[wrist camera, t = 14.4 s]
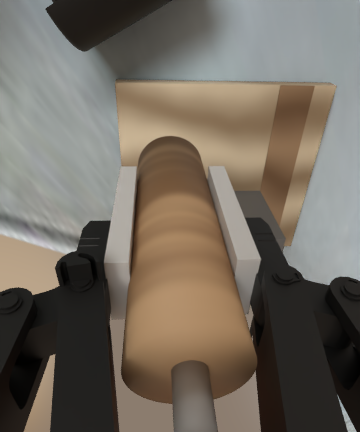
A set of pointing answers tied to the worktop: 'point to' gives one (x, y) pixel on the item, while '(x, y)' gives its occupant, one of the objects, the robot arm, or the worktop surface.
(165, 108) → the birch board
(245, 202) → the grey box with label
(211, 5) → the worktop surface
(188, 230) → the wooden tool handle
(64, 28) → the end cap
